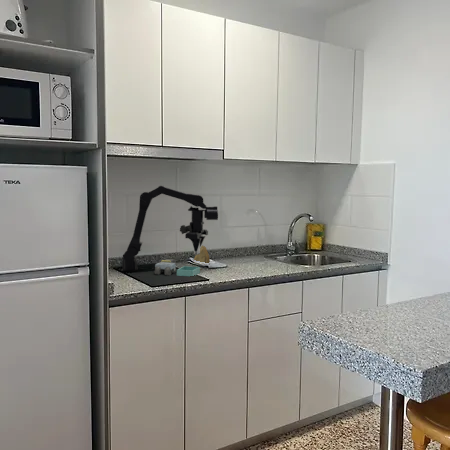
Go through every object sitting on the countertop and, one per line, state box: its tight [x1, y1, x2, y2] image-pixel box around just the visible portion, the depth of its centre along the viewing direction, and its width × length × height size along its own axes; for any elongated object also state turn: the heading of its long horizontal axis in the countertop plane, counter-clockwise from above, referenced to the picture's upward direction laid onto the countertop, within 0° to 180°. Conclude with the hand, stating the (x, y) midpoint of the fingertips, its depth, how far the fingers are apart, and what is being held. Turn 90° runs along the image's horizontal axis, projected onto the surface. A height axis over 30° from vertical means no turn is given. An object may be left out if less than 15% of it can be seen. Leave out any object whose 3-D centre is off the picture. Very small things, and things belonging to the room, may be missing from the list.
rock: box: [193, 244, 211, 263], centre depth 246 cm, size 11×9×10 cm
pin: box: [193, 244, 201, 256], centre depth 228 cm, size 3×3×8 cm
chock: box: [160, 258, 177, 263], centre depth 228 cm, size 5×8×5 cm, turn 165°
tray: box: [176, 265, 201, 277], centre depth 217 cm, size 8×10×3 cm
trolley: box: [154, 261, 177, 276], centre depth 218 cm, size 8×10×5 cm
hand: (196, 250), depth 228 cm, fingers closed on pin, 3 cm apart
